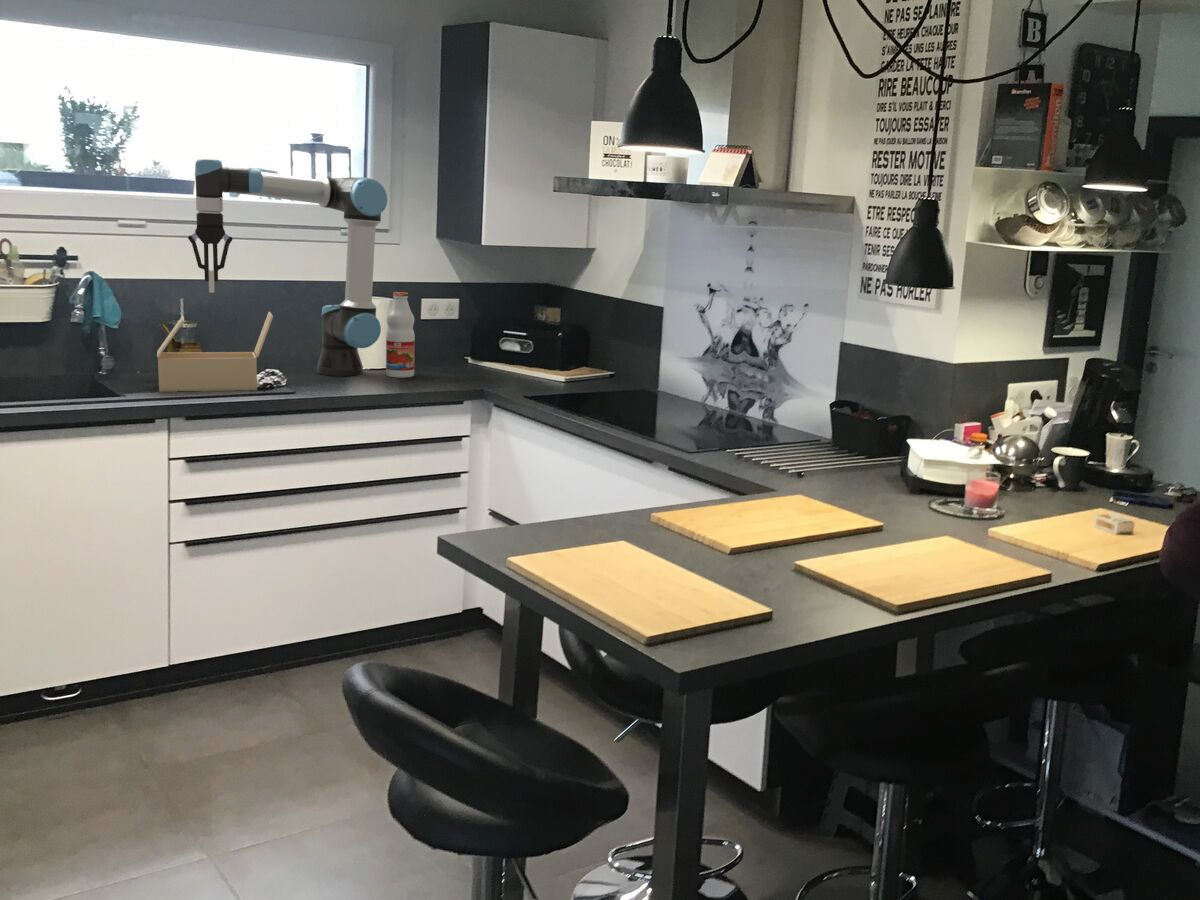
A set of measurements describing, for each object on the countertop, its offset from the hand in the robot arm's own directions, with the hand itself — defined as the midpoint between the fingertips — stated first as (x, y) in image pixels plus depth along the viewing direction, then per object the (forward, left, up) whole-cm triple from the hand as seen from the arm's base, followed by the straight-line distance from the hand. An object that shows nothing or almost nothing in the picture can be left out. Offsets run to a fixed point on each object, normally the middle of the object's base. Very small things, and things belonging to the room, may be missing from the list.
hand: (211, 292), depth 355 cm
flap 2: (-15, 0, -13) cm, 19 cm away
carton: (+2, 0, -29) cm, 29 cm away
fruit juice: (-60, -18, -29) cm, 69 cm away
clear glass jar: (+9, -19, -29) cm, 36 cm away
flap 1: (+12, 0, -13) cm, 18 cm away
